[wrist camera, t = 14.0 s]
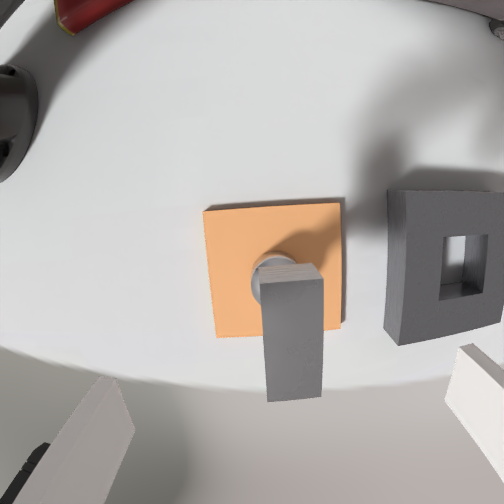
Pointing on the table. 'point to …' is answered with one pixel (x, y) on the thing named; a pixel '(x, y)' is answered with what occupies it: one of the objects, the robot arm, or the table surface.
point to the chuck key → (290, 325)
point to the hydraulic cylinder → (483, 11)
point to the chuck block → (430, 263)
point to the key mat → (262, 241)
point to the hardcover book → (83, 12)
